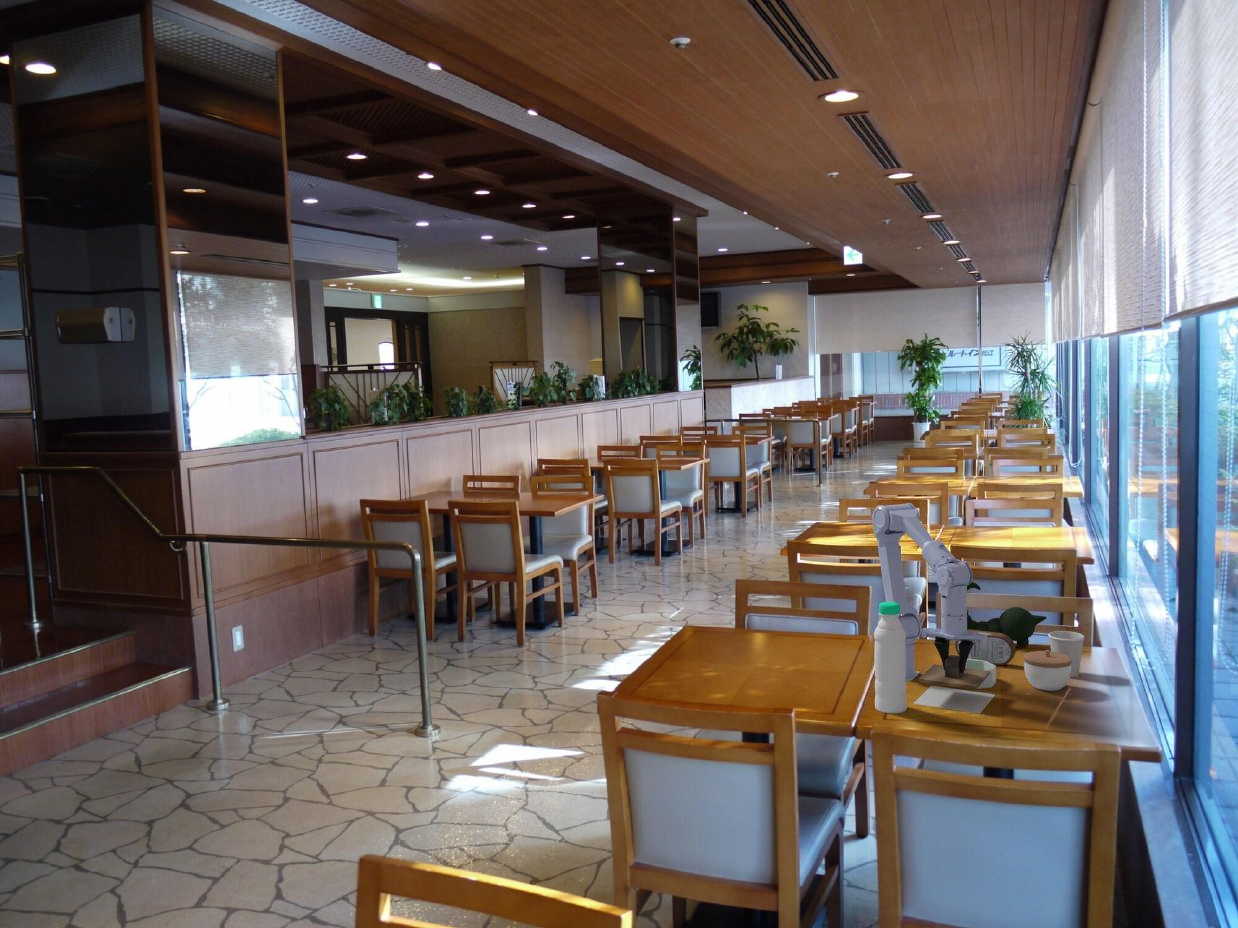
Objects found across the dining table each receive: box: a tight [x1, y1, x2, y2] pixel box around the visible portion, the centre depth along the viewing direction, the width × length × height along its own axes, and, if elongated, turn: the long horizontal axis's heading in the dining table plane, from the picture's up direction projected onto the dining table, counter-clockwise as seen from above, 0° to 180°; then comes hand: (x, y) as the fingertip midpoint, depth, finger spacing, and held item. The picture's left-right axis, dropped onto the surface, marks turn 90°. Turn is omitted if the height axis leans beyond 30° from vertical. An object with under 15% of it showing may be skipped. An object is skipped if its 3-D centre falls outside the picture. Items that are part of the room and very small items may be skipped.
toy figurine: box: [967, 581, 1048, 648], centre depth 276 cm, size 9×19×25 cm
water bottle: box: [873, 601, 908, 714], centre depth 226 cm, size 7×7×25 cm
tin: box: [954, 630, 1017, 667], centre depth 260 cm, size 15×3×8 cm, turn 58°
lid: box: [917, 654, 990, 690], centre depth 231 cm, size 13×13×5 cm
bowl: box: [965, 659, 997, 690], centre depth 244 cm, size 11×11×4 cm
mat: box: [912, 685, 996, 715], centre depth 232 cm, size 15×15×1 cm
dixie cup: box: [1047, 630, 1085, 678], centre depth 248 cm, size 8×8×10 cm
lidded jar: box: [1022, 649, 1072, 692], centre depth 238 cm, size 11×11×9 cm
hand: (954, 670), depth 231 cm, fingers closed on lid, 3 cm apart
